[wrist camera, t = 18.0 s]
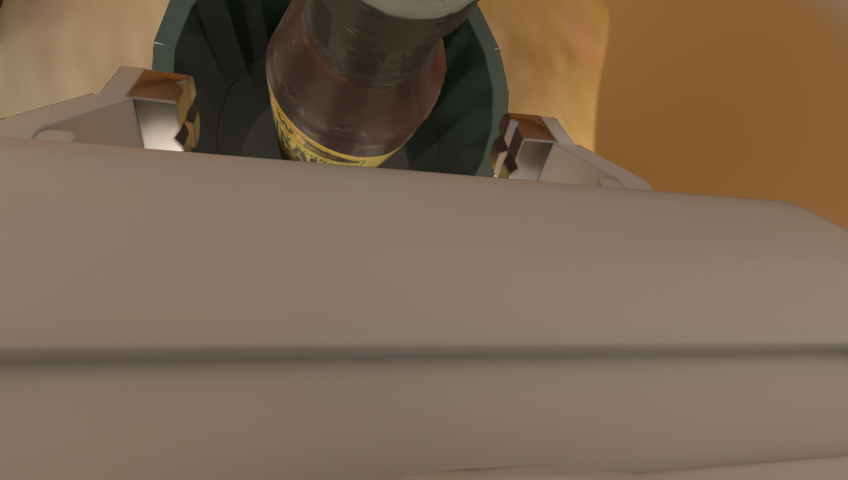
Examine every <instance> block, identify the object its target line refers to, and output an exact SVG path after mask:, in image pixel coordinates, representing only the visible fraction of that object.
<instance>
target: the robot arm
mask: <svg viewBox="0 0 848 480" xmlns="http://www.w3.org/2000/svg"><path fill="white" fill-rule="evenodd" d="M196 94H197V93H196V87H195V81H194V79H193V76H192V75H184V74H177V73H169V72H162V71H155V70H147V69H145V68H135V67H124V66H121V67H120V68H119V70H118V71H117V72H116V73H115V74H114V76H113V77H112V78H111V79H110V81H109V82H108V83H107V84H106V86H105V87H104V88H103V89H102V91H101V92H100V93H99V94H88V95H84V96H81V97H77V98H74V99H70V100H67V101H63V102H60V103H56V104H53V105H49V106H46V107H42V108H39V109H35V110H32V111H28V112H25V113H21V114H18V115H14V116H11V117H7V118H4V119H0V480H848V230H846V229H845V228H843V227H841V226H839V225H837V224H835V223H834V222H832V221H830V220H828V219H826V218H824V217H822V216H820V215H817V214H815V213H813V212H811V211H809V210H807V209H805V208H803V207H800V206H797V205H795V204H792V203H788V202H783V201H775V200H759V199H748V198H735V197H723V196H711V195H699V194H687V193H675V192H663V191H654V190H653V189H652V187H651V186H650V185H649V184H648V183H647V182H646V181H645V180H643V179H641V178H639V177H637V176H636V175H634V174H632V173H630V172H628V171H626V170H625V169H623V168H621V167H619V166H617V165H615V164H613V163H612V162H610V161H608V160H606V159H604V158H603V157H601V156H599V155H597V154H595V153H593V152H592V151H590V150H588V149H586V148H584V147H582V146H581V145H575V144H574V142H573V141H572V140H571V138H570V137H569V135H568V134H567V133H566V131H565V130H564V129H563V127H562V126H561V124H560V123H559V122H558V120H557V119H556V118H553V117H542V116H537V115H526V114H516V113H506V114H504V115H503V117H502V118H501V120H500V123H499V126H498V129H499V131H500V134H501V135H500V136H499V137H498V138H497V139H495V140H494V141H493V145H492V148H491V151H490V166H491V169H492V172H493V173H495V174H496V175H498V178H496V177H484V176H472V175H459V174H447V173H435V172H423V171H411V170H399V169H387V168H375V167H363V166H351V165H339V164H327V163H315V162H303V161H291V160H279V159H267V158H255V157H243V156H231V155H219V154H207V153H195V152H192V149H193V148H195V147H197V144H198V141H199V134H200V118H199V111H198V109H197V108H196V107H195V106H194V105H193V101H194V99H195V97H196Z"/></svg>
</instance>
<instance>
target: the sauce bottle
mask: <svg viewBox="0 0 848 480" xmlns="http://www.w3.org/2000/svg"><path fill="white" fill-rule="evenodd" d="M478 1H479V0H292V1H291V3H290V5H289V7H288V8H287V10H286V12H285V14H284V16H283V17H282V19H281V21H280V23H279V25H278V26H277V28H276V30H275V32H274V33H273V35H272V37H271V39H270V42H269V44H268V47H267V52H266V76H267V82H268V89H269V94H270V99H271V107H272V114H273V121H274V124H275V130H276V136H277V142H278V146H279V148H280V151H281V153H282V155H283V157H284V159H285V160H291V161H303V162H315V163H327V164H339V165H351V166H363V167H375V168H379V167H380V166H381V165H382V164H383V163H384V162H385V161H386V160H387V159H389V158H390V157H391V156H392V155H393V154H394V153H395V152H396V151H397V150H398V149H399V148H400V147H401V146H402V145H403V144H404V143H406V141H407V140H408V139H409V138H410V137H411V136H412V135H413V133H414V132H415V131H416V129H417V128H418V127H419V125H420V124H421V123H422V122H423V121H424V120H425V119H426V118H428V115H429V114H430V112H431V110H432V109H433V107H434V106H435V103H436V102H437V99H438V96H439V94H440V92H441V87H442V84H443V82H444V78H445V73H446V71H447V67H446V57H445V53H444V51H445V49H444V43H443V40H442V37H443V36H445V35H447V34H449V33H450V32H452V31H453V30H454V29H455V28H457V27H458V26H459V25H460V24H461V23H463V22H464V21H465V19H466V17H467V16H468V15H469V14H470V12H471V11H472V9H473V8H474V7H475V5H476V4H477V2H478Z"/></svg>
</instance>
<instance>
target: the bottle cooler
mask: <svg viewBox="0 0 848 480" xmlns="http://www.w3.org/2000/svg"><path fill="white" fill-rule="evenodd" d="M291 1H292V0H170V2H169V4H168V7H167V10H166V12H165V15H164V17H163V20H162V22H161V25H160V28H159V30H158V33H157V35H156V38H155V40H154V43H155V44H154V46H153V60H152V70H155V71H162V72H169V73H177V74H184V75H192V76H193V79H194V81H195V87H196V93H197V94H196V97H195V99H194V101H193V105H194V106H195V107H196V108H197V109H198V111H199V118H200V134H199V141H198V144H197V147H195V148H193V149H192V152H195V153H207V154H219V155H231V156H243V157H255V158H267V159H279V160H285V159H284V157H283V155H282V153H281V151H280V148H279V146H278V142H277V136H276V130H275V124H274V121H273V114H272V107H271V99H270V94H269V89H268V82H267V76H266V52H267V47H268V44H269V42H270V39H271V37H272V35H273V33H274V32H275V30H276V28H277V26H278V25H279V23H280V21H281V19H282V17H283V16H284V14H285V12H286V10H287V8H288V7H289V5H290V3H291ZM442 40H443V43H444V49H445V51H444V53H445V57H446V67H447V71H446V73H445V78H444V82H443V84H442V87H441V92H440V94H439V96H438V99H437V102H436V103H435V106H434V107H433V109H432V110H431V112H430V114H429V115H428V118H426V119H425V120H424V121H423V122H422V123H421V124H420V125H419V127H418V128H417V129H416V131H415V132H414V133H413V135H412V136H411V137H410V138H409V139H408V140H407V141H406V143H404V144H403V145H402V146H401V147H400V148H399V149H398V150H397V151H396V152H395V153H394V154H393V155H392V156H391V157H390V158H389V159H387V160H386V161H385V162H384V163H383V164H382V165H381V166H380V167H379V168H387V169H399V170H411V171H423V172H435V173H447V174H459V175H472V176H484V177H493V176H494V174H495V173H493V172H492V169H491V166H490V151H491V148H492V145H493V141H494V140H495V139H497V138H498V137H499V136H500V135H501V134H500V131H499V129H498V126H499V123H500V120H501V118H502V117H503V115H504V114H506V113H508V93H509V91H508V86H507V82H506V77H505V72H504V68H503V63H502V59H501V54H500V50H498V49H499V48H498V45H497V43H496V41H495V39H494V37H493V35H492V33H491V31H490V29H489V26H488V24H487V22H486V20H485V18H484V16H483V14H482V12H481V11H480V8H479V7H478V5H477V4H476V5H475V7H474V8H473V9H472V11H471V12H470V14H469V15H468V16H467V17H466V19H465V21H464V22H463V23H461V24H460V25H459V26H458V27H457V28H455V29H454V30H453V31H452V32H450V33H449V34H447V35H445V36H443V37H442Z"/></svg>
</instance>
